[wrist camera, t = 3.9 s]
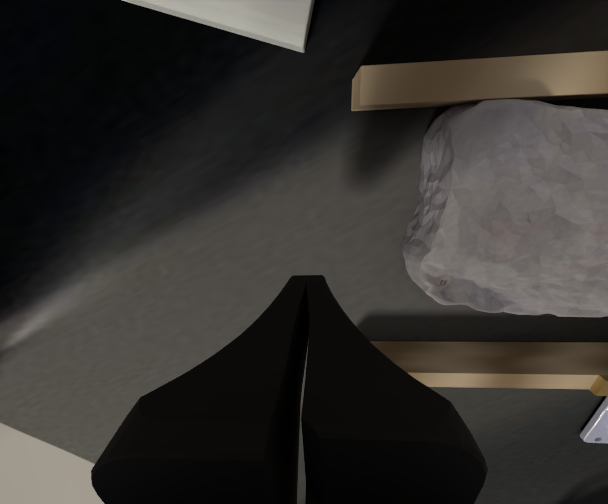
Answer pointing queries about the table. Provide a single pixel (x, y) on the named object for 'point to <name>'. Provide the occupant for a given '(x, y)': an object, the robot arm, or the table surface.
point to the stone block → (513, 209)
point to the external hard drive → (246, 17)
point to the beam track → (473, 88)
